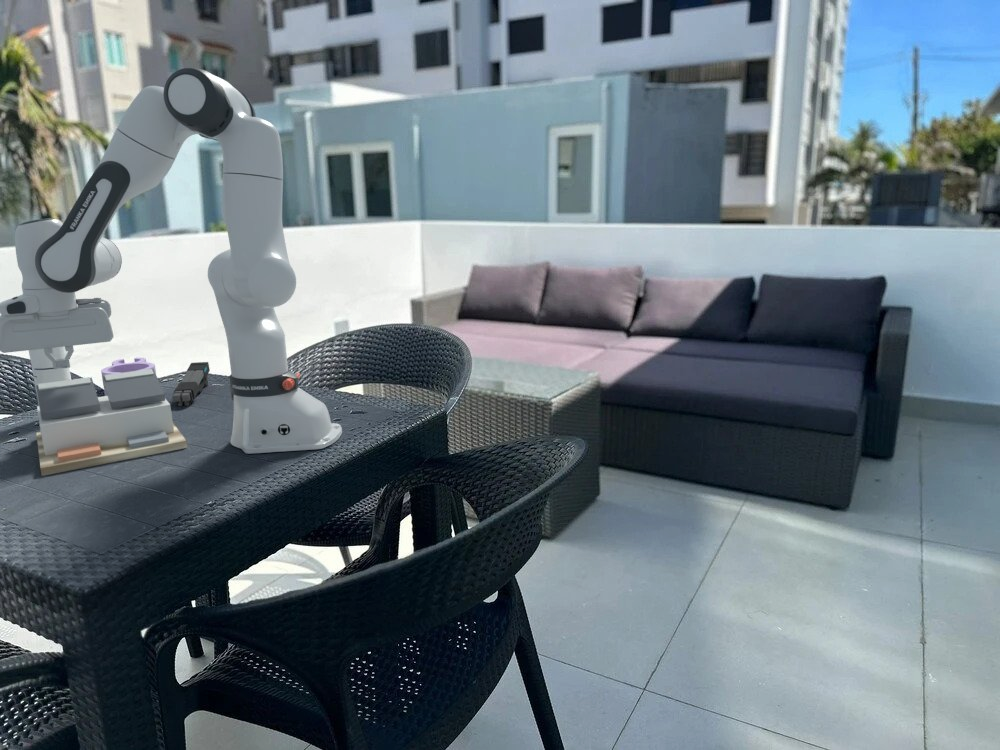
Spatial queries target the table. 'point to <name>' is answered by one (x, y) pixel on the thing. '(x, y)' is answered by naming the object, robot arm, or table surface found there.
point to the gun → (191, 383)
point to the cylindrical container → (48, 366)
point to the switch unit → (106, 436)
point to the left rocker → (67, 398)
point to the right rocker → (133, 388)
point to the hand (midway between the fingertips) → (61, 368)
